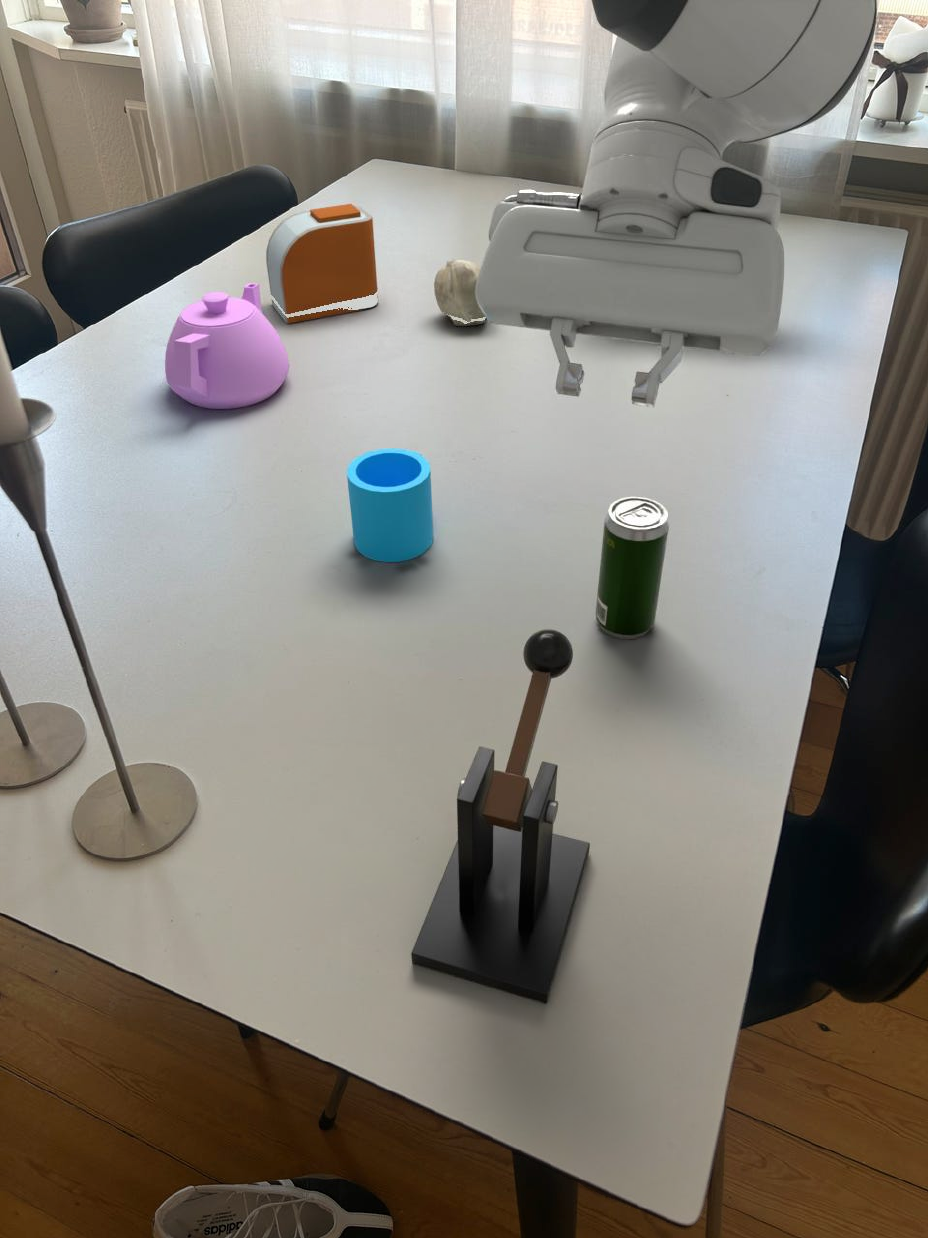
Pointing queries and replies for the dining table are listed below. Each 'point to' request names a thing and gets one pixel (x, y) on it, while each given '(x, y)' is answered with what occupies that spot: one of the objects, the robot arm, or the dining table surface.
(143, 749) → the dining table surface
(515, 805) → the lever
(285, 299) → the orange and white toaster
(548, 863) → the bracket
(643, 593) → the green drink can
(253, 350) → the teapot
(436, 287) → the garlic bulb
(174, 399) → the dining table surface
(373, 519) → the mug
